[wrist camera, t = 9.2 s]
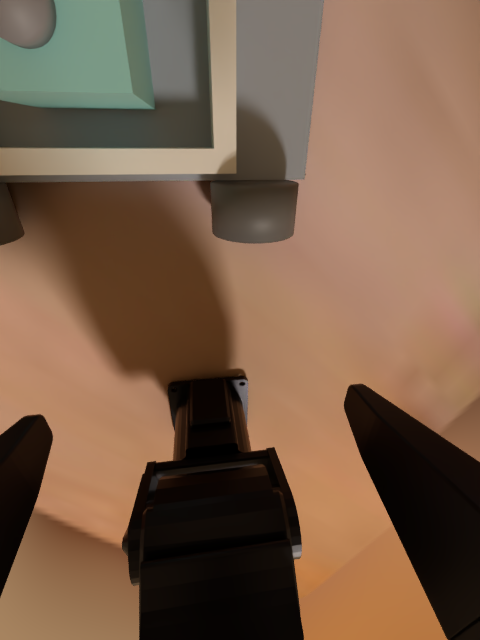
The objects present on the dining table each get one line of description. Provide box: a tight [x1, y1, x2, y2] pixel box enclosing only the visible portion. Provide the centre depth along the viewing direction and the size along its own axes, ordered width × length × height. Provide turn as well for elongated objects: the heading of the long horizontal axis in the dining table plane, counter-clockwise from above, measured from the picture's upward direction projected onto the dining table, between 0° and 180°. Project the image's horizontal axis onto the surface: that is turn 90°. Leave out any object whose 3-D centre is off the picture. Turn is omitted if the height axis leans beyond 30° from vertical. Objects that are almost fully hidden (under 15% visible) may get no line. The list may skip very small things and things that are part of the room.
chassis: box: [0, 0, 324, 245], centre depth 11 cm, size 17×20×4 cm
